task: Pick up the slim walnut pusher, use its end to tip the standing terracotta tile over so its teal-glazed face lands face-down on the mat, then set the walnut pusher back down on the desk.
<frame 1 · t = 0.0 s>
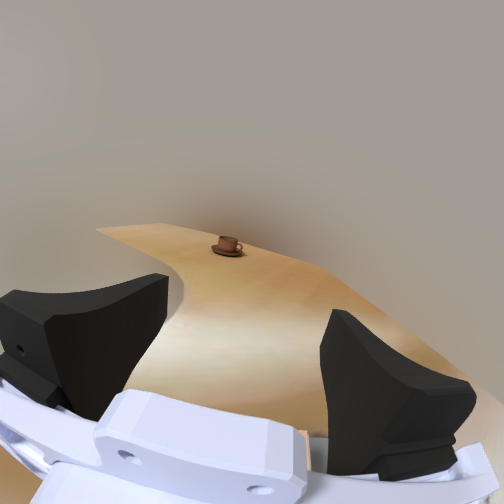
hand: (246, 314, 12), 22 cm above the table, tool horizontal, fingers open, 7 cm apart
cup and saucer: (225, 254, 110), on the table
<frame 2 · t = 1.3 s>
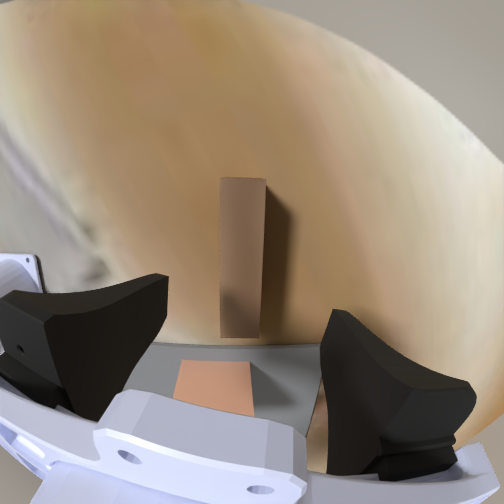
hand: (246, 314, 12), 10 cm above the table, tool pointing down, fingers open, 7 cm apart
tile: (215, 366, 23), resting on mat
mat: (218, 405, 25), on the table
walnut pusher: (239, 244, 21), on the table
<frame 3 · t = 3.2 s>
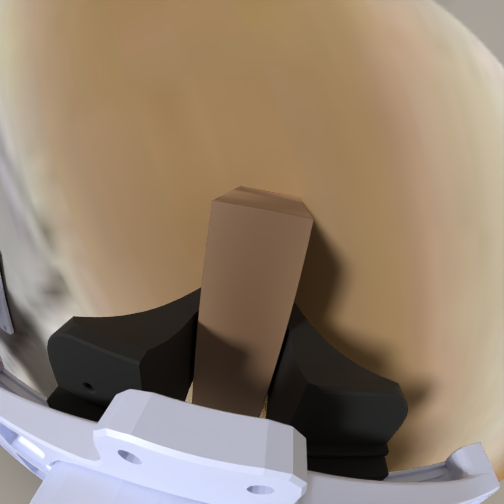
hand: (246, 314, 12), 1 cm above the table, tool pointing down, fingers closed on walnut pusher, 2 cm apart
walnut pusher: (249, 299, 13), on the table, touching gripper
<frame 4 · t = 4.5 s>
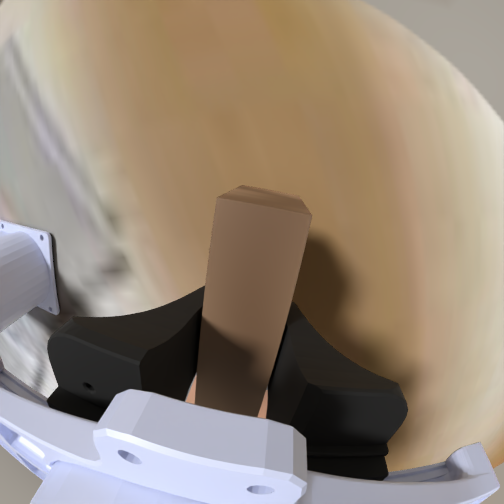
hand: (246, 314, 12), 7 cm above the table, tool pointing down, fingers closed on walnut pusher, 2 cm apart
walnut pusher: (250, 294, 13), point 5 cm above the table, touching gripper
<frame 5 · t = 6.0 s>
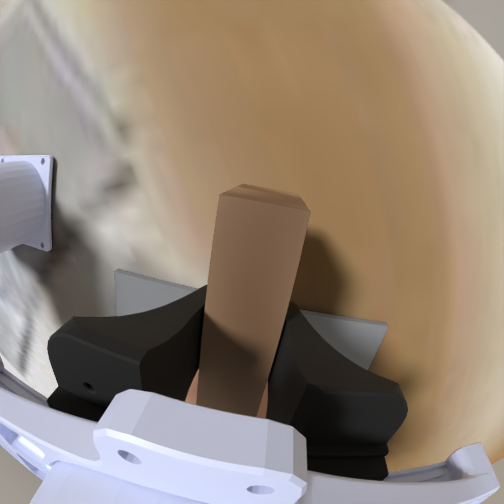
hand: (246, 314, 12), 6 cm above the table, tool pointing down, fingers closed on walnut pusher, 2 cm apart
tile: (244, 330, 18), point 1 cm above the table, tilted 19°, touching mat
mat: (234, 383, 21), on the table
walnut pusher: (251, 290, 14), point 4 cm above the table, touching gripper
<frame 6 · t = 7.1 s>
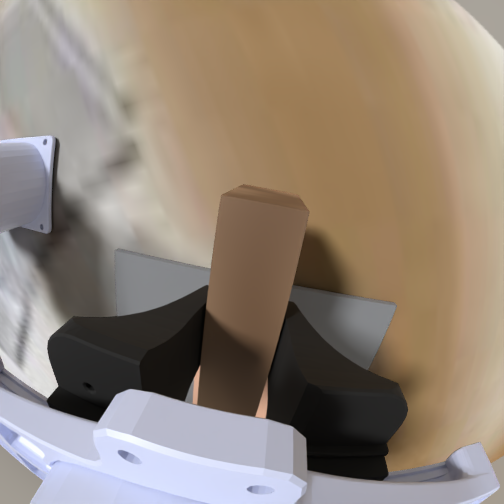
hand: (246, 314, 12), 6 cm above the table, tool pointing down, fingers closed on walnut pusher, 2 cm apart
tile: (246, 324, 18), point 1 cm above the table, tilted 90°, touching mat
mat: (237, 369, 21), on the table
walnut pusher: (251, 289, 14), point 4 cm above the table, touching gripper
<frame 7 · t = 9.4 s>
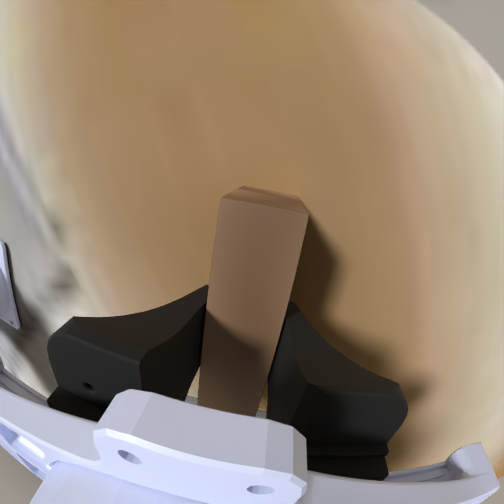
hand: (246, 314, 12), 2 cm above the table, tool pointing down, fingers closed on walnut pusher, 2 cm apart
walnut pusher: (251, 290, 14), on the table, touching gripper
when the fingers open (2 cm above the table, at t = 9.4 s): walnut pusher stays where it is, on the table.
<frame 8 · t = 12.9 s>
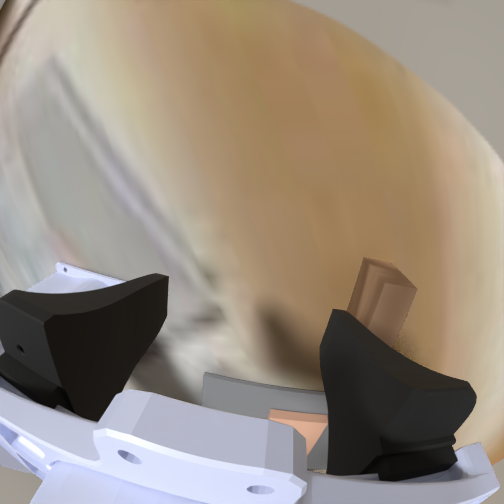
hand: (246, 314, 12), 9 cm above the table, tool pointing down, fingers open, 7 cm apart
tile: (299, 416, 24), point 1 cm above the table, tilted 90°, touching mat
mat: (286, 434, 27), on the table
walnut pusher: (358, 315, 22), on the table
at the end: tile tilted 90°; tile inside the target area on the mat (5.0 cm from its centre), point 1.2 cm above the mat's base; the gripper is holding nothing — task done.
